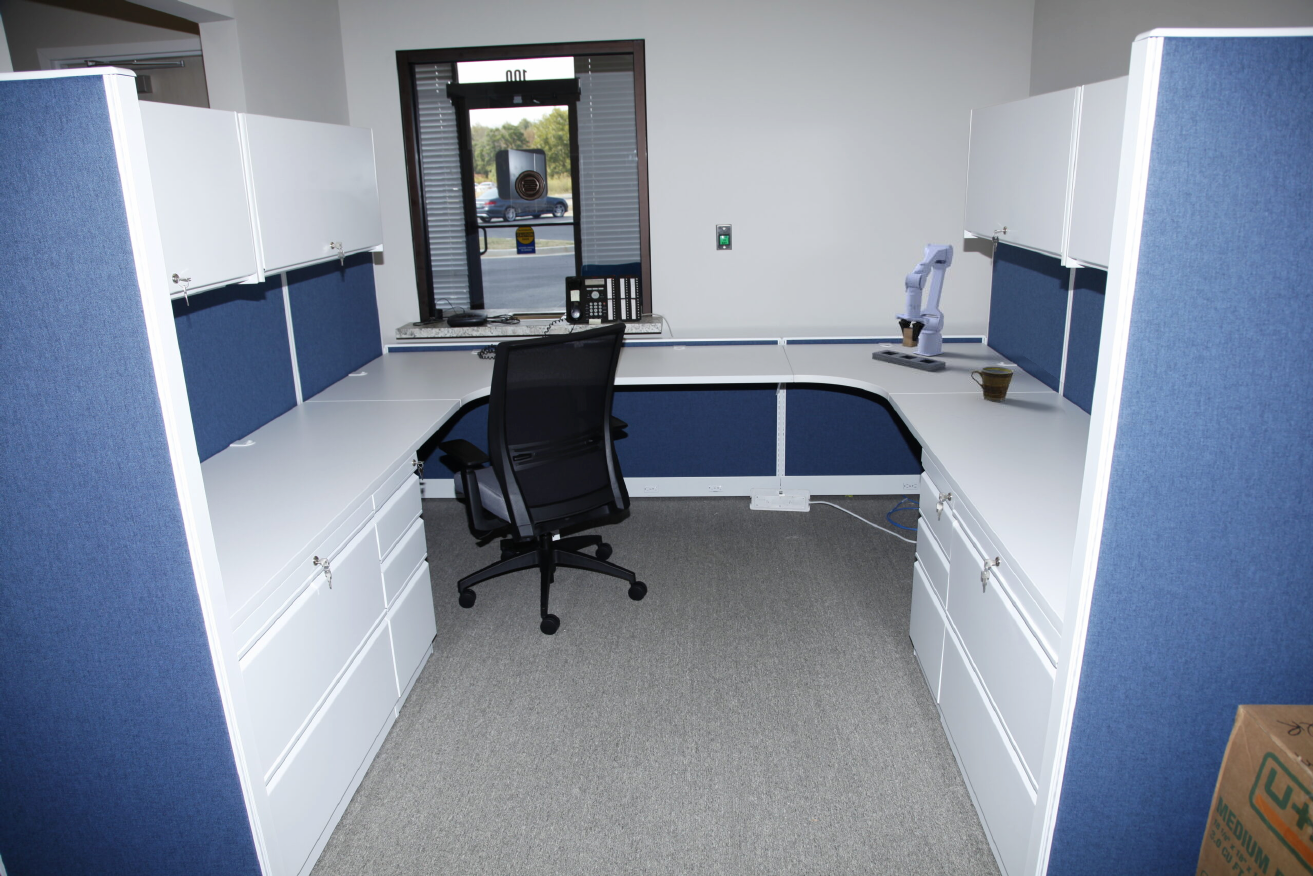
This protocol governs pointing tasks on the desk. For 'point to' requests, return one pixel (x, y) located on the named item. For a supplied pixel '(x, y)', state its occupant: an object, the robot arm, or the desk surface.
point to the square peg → (909, 338)
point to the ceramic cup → (994, 382)
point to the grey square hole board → (909, 360)
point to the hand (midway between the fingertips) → (910, 339)
